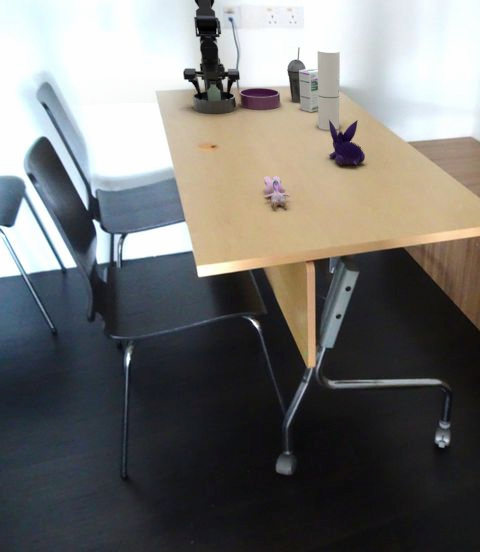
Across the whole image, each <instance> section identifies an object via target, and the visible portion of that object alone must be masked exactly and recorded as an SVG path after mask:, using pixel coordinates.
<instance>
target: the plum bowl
mask: <svg viewBox="0 0 480 552" xmlns="http://www.w3.org/2000/svg"><path fill="white" fill-rule="evenodd" d="M238 94H239V105H240V107H241V108H243V109H246V110H253V111H268V110H275V109H278V108H279V107H281V93H280V91H279V90H277V89H273V88H266V87H252V88H244V89H242V90H240V91H239V93H238Z"/></svg>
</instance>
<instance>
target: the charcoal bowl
mask: <svg viewBox="0 0 480 552" xmlns="http://www.w3.org/2000/svg"><path fill="white" fill-rule="evenodd" d="M220 95H221V100H219V101H209V100H208V93H207V91H205V90H204V91H201V96H202V99H200V97H199V95H198V93H197V92H196V93H194V94H193V95H192V102H193V110H194V111H195V112H197V113H199V114H200V113H201V114H206V115H223V114H230V113H234V112H235V111H236V110H237V98H236V94H234V93H232V92H230V94H229V99H227V91H224V92H223V91H220Z"/></svg>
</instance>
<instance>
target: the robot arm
mask: <svg viewBox="0 0 480 552" xmlns="http://www.w3.org/2000/svg"><path fill="white" fill-rule="evenodd" d="M194 2H195V4H196V6H197V9H196V10H195V16H193V21H194V31H195V38H199V51H200V56H201V59H200V63H199V69H200V70H196V68H190V67H189V68H187V67H186V68H184V69H183V72H182V74H183V80H184V81H187V82H188V83H191V84H192V85H193V87H194V88H195V90H196V93H198V95H199V97H200V99H202V96H201V92H202V91H201V86H200V81H199V78H201V81H203V83H204V92H205V91H207V90H209V88H210V81H216V88H218V90H220V91H223V92H225V91H224V83H223V81H224V80H226V79H227V80H226V81H227V82H226V92H227V99H229V94H230V93H231V90H232V86H233V84H234V83H236V82H237V81H240V80H241V77H240V70H239V69H238V68H227V71H226V67H225V66H224V64H223V63H221V58H220V57H219V56H220V55H219V46H218V45H219V44H218V38H220V37H221V36H220V35H222V28H221V27H222V26H221V21H220V20H219V18H218V17H216V11H215V10H214V9H213V7H214V4H215V0H194Z"/></svg>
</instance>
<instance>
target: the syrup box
mask: <svg viewBox="0 0 480 552" xmlns="http://www.w3.org/2000/svg"><path fill="white" fill-rule="evenodd" d="M299 81H300V104H299V105H300V110H302V111H305V112H308V113H313V112H318V68H311V67H309V68H306V69H304V70H299Z"/></svg>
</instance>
